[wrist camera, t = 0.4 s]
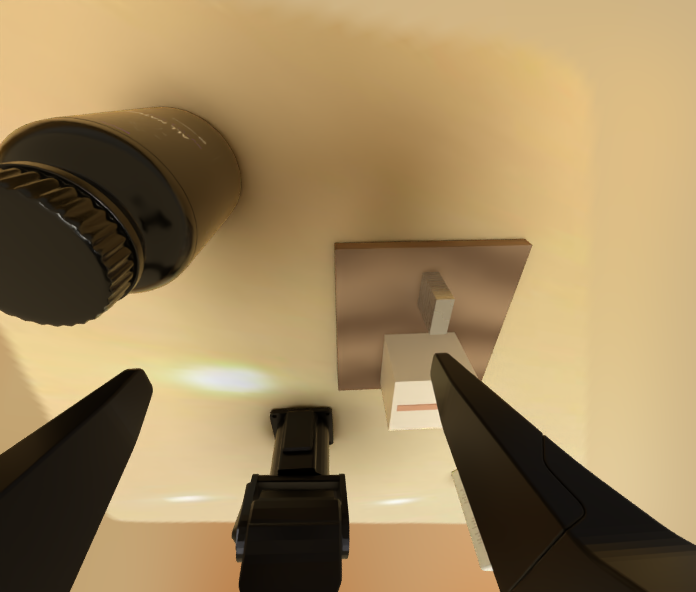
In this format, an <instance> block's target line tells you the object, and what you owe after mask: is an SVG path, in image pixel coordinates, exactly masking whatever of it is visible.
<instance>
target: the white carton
mask: <svg viewBox="0 0 696 592" xmlns="http://www.w3.org/2000/svg"><path fill="white" fill-rule="evenodd" d="M435 353H448V354H450V355H451V356H452V357H453V358H455V359H456V360H457V361H458V362H459V363H460V364H462V365H463V366H464V367H465V368H466V369H468V370H469V371H470V372H471V373H472V374H473V375H475V376H476V377H477V375H476V373H475V371H474V369H473V367H472V365H471V363H470V361H469V360H468V358H467V356H466V354H465V352H464V350H463V348H462V346H461V344H460V342H459V340H458V338H457V336H456V334H455V332H448V333H447V334H439V335H429V333H419V334H390V335H385V336H384V347H383V357H382V368H381V379H380V383H381V389H382V395H383V401H384V406H385V412H386V418H387V423H388V429H389V431H390V430H411V429H431V428H443V427H442V424H441V420H440V416H439V412H438V408H437V403H436V399H435V395H434V390H433V386H432V382H431V377H430V370H431V365H432V360H433V356H434V354H435ZM477 378H478V377H477Z"/></svg>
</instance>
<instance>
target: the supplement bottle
mask: <svg viewBox="0 0 696 592" xmlns="http://www.w3.org/2000/svg"><path fill="white" fill-rule="evenodd" d="M240 191H241V176H240V170H239V166H238V163H237V160H236V158H235V155H234V153H233V152H232V150H231V148H230V146H229V145H228V143H227V142H226V141H225V139H224V138H223V137H222V136H221V135H220V133H219V132H218V131H217V130H216V129H215V128H213V127H212V126H211V125H210V124H209V123H207V122H206V121H204V120H203V119H201V118H200V117H198V116H196V115H194V114H192V113H190V112H187V111H184V110H181V109H177V108H171V107H151V108H140V109H130V110H121V111H111V112H102V113H93V114H83V115H74V116H64V117H55V118H50V119H44V120H39V121H35V122H32V123H29V124H26V125H24V126H22V127H20V128H18V129H16V130H15V131H13V132H12V133H11V134H9V135H8V136H7V137H6V138H5V139H4V141H3V142H2V143H1V144H0V310H1V311H2V312H4V313H6V314H8V315H11V316H16V317H18V318H20V319H22V320H25V321H33V322H36V323H38V324H41V325H46V324H49V325H53V326H57V327H58V326H62V325H66V326H73V325H75V324H85V323H86V322H88V321H89V320H93V319H96V318H98V317H99V316H100V315H102V314H103V313H104V312H106V311H107V310H108V309H109V308H111V307H112V306H113V305H114V304H115V303H116V302H117V301H118V300H120V299H122V298H123V297H125V296H126V295H127V294H134V293H142V292H147V291H151V290H155V289H157V288H160V287H162V286H165V285H167V284H168V283H170V282H171V281H173V280H174V279H176V278H177V277H178V276H179V275H180V274H181V273H182V272H183V271H184V270H185V269H186V268H187V267H188V266H189V264H190V263H191V262H192V261H193V259H194V258H195V257H196V256H197V255H198V253H199V252H200V251H201V250H202V249H203V247H204V246H205V245H206V244H207V242H208V241H209V240H210V239H211V238H212V236H213V235H214V234H215V233H216V232H217V230H218V229H219V228H220V227H221V225H222V224H223V223H224V222H225V221H226V219H227V218H228V217H229V215H230V214H231V213H232V211H233V210H234V208H235V206H236V204H237V202H238V200H239V196H240Z"/></svg>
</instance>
